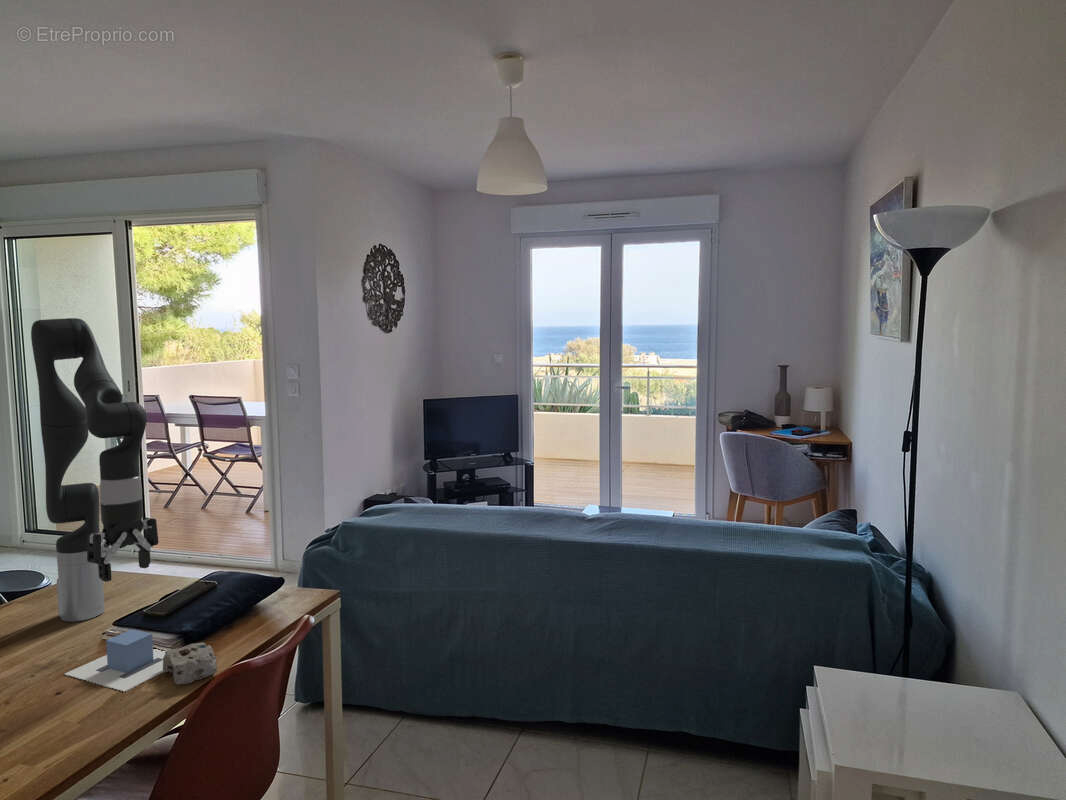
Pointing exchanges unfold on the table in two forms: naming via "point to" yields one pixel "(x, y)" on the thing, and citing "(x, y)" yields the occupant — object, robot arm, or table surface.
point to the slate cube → (129, 651)
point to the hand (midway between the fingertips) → (125, 573)
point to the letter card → (118, 673)
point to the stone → (190, 663)
